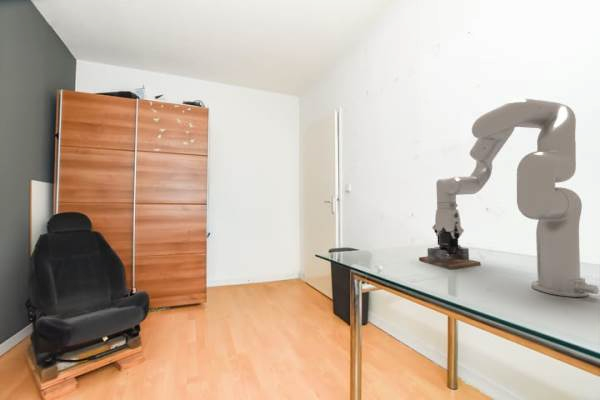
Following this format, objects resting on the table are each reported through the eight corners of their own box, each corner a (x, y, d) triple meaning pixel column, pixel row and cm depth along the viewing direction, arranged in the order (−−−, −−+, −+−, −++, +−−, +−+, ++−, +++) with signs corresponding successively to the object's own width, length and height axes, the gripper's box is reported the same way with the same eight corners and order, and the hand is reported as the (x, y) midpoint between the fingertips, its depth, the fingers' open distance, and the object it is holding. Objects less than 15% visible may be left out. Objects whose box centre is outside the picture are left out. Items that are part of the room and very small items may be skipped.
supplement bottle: (441, 254, 118) (440, 227, 118) (437, 251, 125) (437, 225, 125) (458, 254, 116) (457, 227, 116) (454, 251, 123) (453, 225, 123)
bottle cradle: (480, 265, 114) (479, 247, 114) (451, 269, 109) (450, 251, 109) (445, 257, 131) (445, 242, 131) (419, 260, 126) (418, 244, 126)
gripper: (470, 206, 113) (471, 248, 113) (437, 205, 130) (439, 242, 130) (456, 207, 111) (457, 250, 111) (425, 206, 127) (426, 243, 127)
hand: (447, 245), depth 120 cm, fingers closed on supplement bottle, 6 cm apart
